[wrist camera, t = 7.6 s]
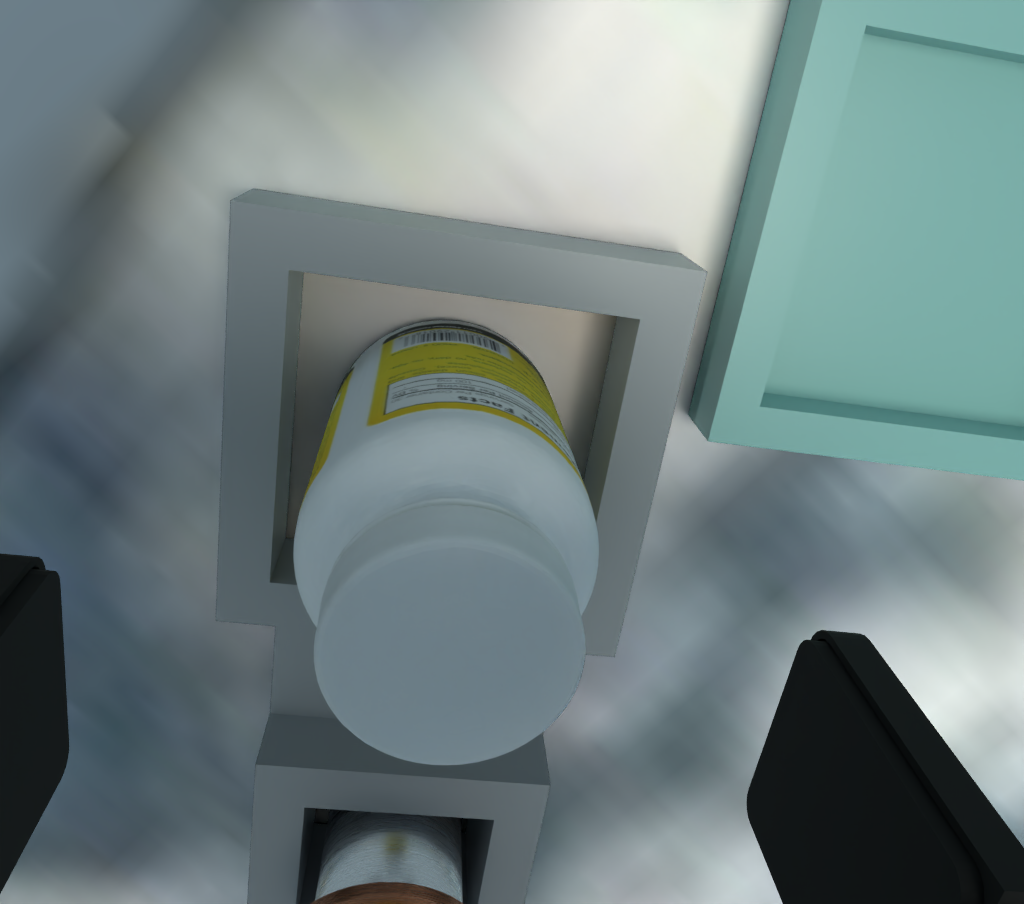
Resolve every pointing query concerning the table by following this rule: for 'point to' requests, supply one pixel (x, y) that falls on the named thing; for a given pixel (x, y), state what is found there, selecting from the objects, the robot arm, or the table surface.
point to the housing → (269, 554)
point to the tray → (880, 244)
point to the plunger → (390, 859)
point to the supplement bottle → (446, 549)
